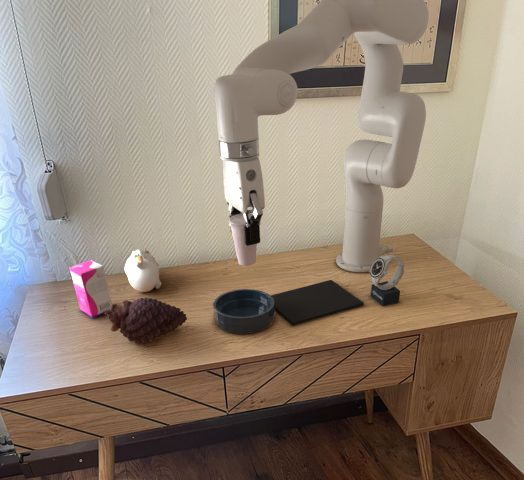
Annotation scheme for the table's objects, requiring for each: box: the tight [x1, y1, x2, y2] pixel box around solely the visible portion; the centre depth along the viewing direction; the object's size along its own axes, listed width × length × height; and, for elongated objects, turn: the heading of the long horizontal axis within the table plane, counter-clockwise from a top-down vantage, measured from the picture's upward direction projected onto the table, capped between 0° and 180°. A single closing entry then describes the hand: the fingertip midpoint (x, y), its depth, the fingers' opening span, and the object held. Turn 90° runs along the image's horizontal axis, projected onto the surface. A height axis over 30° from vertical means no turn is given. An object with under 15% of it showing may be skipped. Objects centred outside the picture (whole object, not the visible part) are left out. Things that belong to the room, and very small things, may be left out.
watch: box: [368, 253, 405, 307], centre depth 122 cm, size 6×8×11 cm
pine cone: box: [104, 296, 188, 345], centre depth 112 cm, size 18×10×10 cm
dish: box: [212, 288, 276, 335], centre depth 118 cm, size 14×14×4 cm
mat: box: [270, 279, 364, 327], centre depth 125 cm, size 19×14×1 cm
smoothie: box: [228, 212, 258, 267], centre depth 109 cm, size 6×6×14 cm
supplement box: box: [69, 259, 113, 319], centre depth 122 cm, size 6×6×12 cm
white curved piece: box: [124, 248, 162, 293], centre depth 133 cm, size 10×8×15 cm
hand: (245, 237), depth 109 cm, fingers closed on smoothie, 6 cm apart
